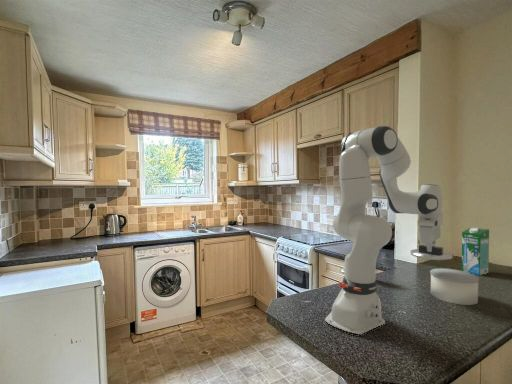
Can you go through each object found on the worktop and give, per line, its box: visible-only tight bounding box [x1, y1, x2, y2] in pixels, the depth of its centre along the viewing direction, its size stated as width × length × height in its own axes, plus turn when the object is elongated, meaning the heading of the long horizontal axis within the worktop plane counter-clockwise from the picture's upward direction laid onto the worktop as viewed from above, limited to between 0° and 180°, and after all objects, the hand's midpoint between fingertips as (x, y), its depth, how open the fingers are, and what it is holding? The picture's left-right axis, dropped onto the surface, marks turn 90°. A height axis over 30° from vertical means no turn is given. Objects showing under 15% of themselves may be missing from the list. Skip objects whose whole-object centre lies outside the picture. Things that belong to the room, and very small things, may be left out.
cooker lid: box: [410, 244, 454, 261], centre depth 124 cm, size 16×16×4 cm
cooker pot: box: [429, 267, 480, 306], centre depth 122 cm, size 18×18×10 cm
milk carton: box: [461, 227, 490, 276], centre depth 155 cm, size 9×9×25 cm
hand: (430, 250), depth 124 cm, fingers closed on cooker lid, 3 cm apart
